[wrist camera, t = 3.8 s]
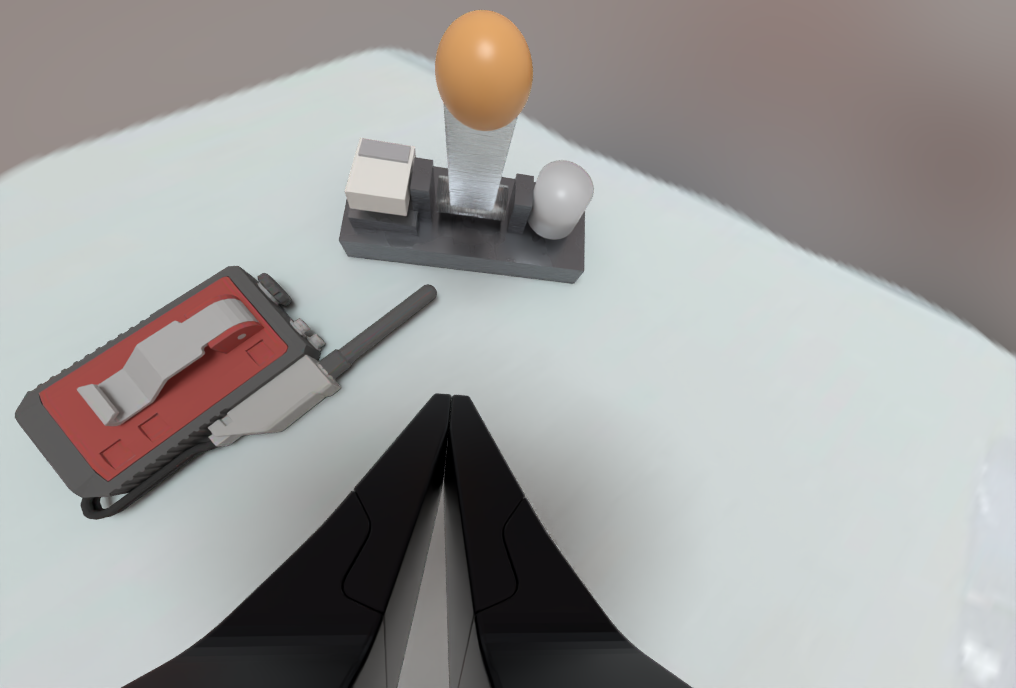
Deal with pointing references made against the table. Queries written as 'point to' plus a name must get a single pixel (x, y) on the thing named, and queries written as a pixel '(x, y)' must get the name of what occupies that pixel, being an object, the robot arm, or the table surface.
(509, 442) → the table surface
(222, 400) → the walkie-talkie
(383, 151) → the white block
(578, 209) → the push button
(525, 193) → the slide switch base
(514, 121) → the ball-topped post
